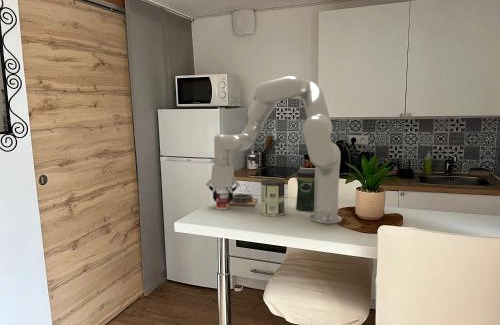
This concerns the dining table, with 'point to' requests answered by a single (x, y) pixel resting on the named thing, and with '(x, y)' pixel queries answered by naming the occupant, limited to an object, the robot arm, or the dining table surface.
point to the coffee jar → (305, 189)
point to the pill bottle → (222, 198)
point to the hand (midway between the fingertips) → (223, 200)
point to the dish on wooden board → (243, 200)
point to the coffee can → (272, 197)
